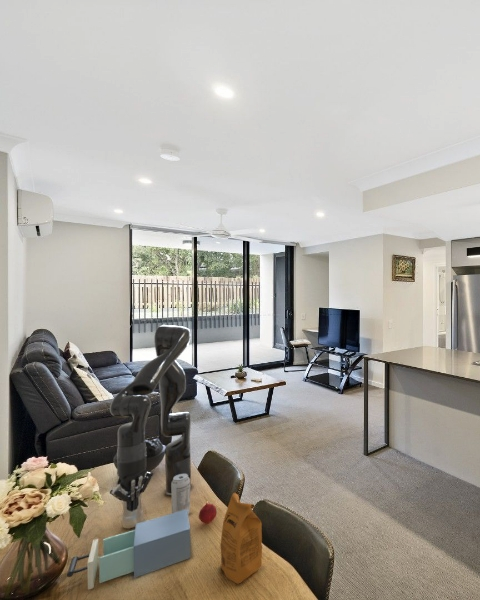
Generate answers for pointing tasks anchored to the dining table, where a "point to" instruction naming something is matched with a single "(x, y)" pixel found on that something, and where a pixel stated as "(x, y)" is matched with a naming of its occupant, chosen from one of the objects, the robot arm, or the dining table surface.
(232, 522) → the coffee package
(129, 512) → the plastic bottle
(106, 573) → the drawer
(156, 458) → the coal bowl
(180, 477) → the energy drink can
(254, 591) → the dining table surface
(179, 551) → the cabinet
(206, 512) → the onion
